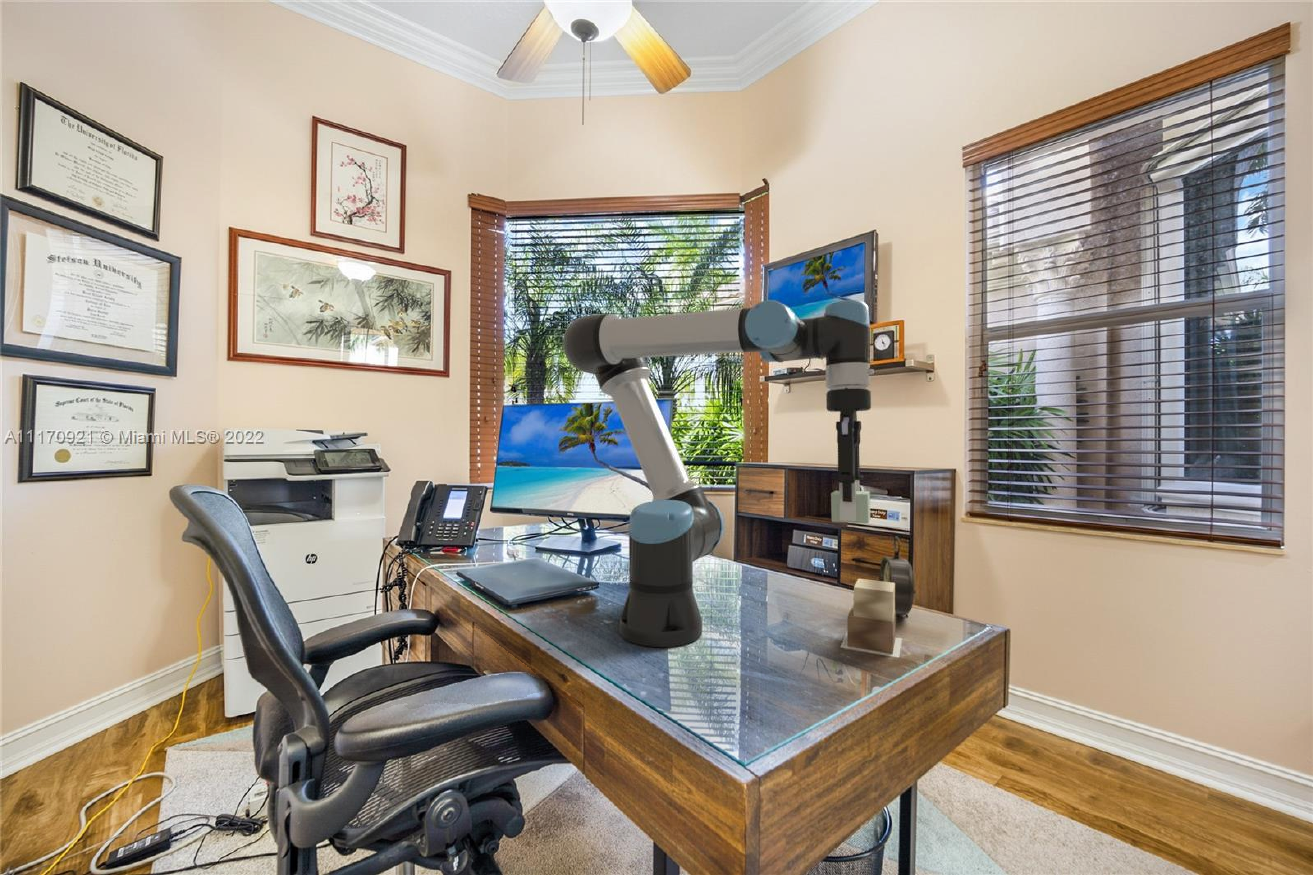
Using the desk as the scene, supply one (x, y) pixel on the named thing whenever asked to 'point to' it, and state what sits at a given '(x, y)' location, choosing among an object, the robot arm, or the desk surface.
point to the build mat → (895, 652)
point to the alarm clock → (899, 580)
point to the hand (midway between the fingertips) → (850, 517)
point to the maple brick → (874, 600)
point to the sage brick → (861, 507)
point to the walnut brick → (870, 633)
